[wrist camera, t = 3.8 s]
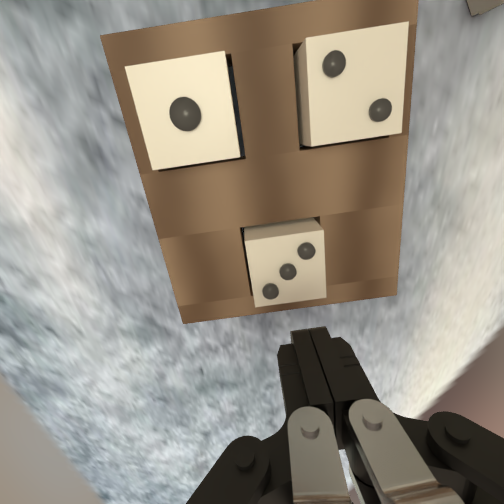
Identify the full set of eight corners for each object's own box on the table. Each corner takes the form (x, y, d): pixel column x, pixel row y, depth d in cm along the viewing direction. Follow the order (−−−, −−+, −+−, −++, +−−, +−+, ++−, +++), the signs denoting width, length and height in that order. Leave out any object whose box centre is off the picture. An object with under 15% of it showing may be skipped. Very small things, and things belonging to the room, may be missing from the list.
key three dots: (311, 215, 21) (325, 231, 17) (314, 274, 23) (327, 299, 19) (244, 224, 21) (244, 242, 17) (253, 282, 23) (255, 309, 19)
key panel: (391, 7, 17) (419, -17, 14) (379, 277, 25) (396, 295, 22) (122, 50, 18) (99, 35, 15) (189, 303, 25) (183, 324, 22)
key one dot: (227, 66, 17) (224, 49, 13) (240, 153, 19) (240, 157, 15) (146, 79, 17) (122, 65, 14) (167, 164, 19) (151, 170, 15)
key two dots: (376, 43, 17) (412, 19, 13) (373, 133, 19) (404, 133, 15) (293, 56, 17) (306, 35, 13) (299, 144, 19) (312, 146, 15)
